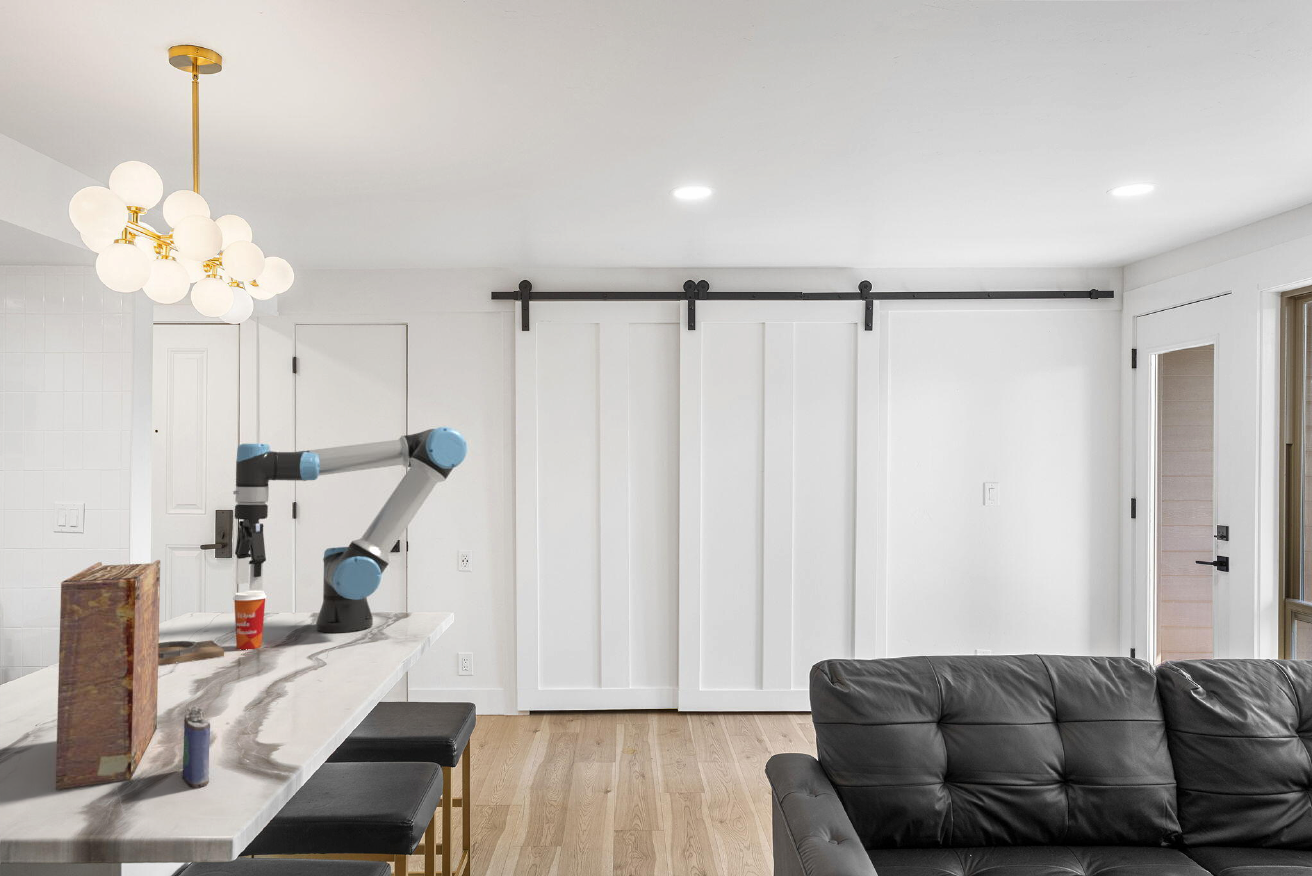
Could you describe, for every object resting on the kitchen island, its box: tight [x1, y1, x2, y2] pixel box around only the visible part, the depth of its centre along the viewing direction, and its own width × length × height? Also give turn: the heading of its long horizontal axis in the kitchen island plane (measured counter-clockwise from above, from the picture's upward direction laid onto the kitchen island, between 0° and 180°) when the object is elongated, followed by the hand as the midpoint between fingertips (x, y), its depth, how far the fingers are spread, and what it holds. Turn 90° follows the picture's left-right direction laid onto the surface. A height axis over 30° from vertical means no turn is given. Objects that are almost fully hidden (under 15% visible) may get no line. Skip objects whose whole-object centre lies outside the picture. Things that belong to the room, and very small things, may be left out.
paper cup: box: [232, 590, 267, 651], centre depth 199 cm, size 8×8×14 cm
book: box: [54, 559, 161, 791], centre depth 126 cm, size 25×9×30 cm, turn 25°
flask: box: [181, 705, 211, 789], centre depth 117 cm, size 9×3×11 cm, turn 39°
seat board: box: [158, 639, 225, 666], centre depth 188 cm, size 22×14×3 cm, turn 131°
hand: (248, 586), depth 199 cm, fingers open, 13 cm apart
